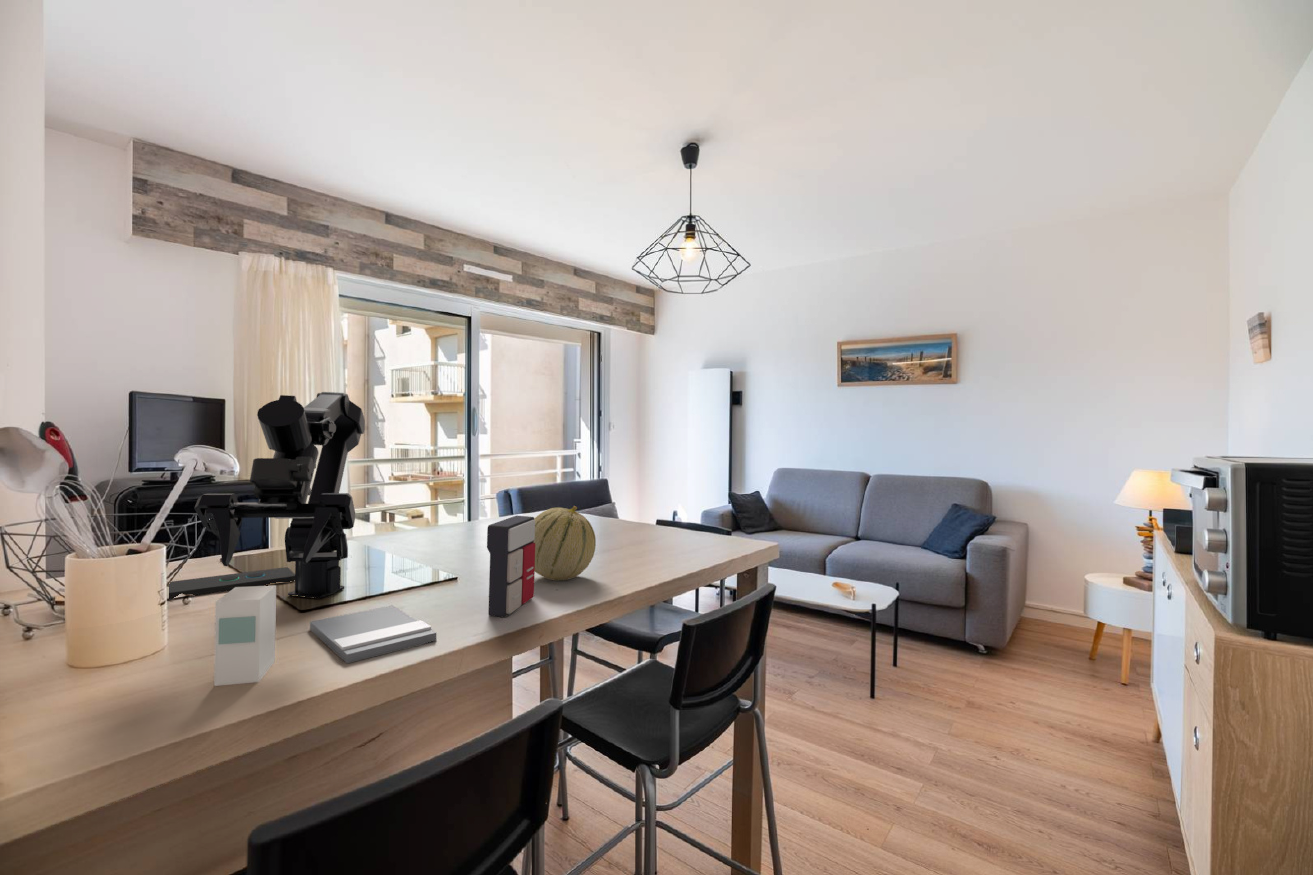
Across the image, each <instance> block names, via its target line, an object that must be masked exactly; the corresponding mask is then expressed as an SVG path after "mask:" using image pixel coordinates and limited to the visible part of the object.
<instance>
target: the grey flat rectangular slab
mask: <svg viewBox="0 0 1313 875" xmlns="http://www.w3.org/2000/svg"><path fill="white" fill-rule="evenodd" d="M309 630H310V631H311V632H312V633H313V634H314V635H315V636H316V637H317V638H318V639H320V640H321V641H322V642H323V643H324V644H325V645H326V646H327V647H328V648H329V649H330V650H332V652H334V654H336V655H337V656H338V657H339V658H340V659H341V660H342V661H343V662H344V663H346V664H350V663H351V664H352V663H354V662H358V661H362V659H363V660H366V659H369V658H374V657H378V656H382V655H385V654H389V653H394V652H397V650H398V651H401V650H404V649H410V648H413V646H414V647H417V646H421V645H425V644H428V642H429V643H432V642H431V641H433V642H436V641H437V632H436V631H435V630H432V626H431V625H430V624H428V623H426V622H425V621H423V620H421V619H420V620H417V619H416V618H414V617H413V616H410V615H409V614H407V613H406V612H404V611H403V610H401V609H400V608H398V607H396V606H394V605H392V604H391V605H387V606H386V605H385V606H382V607H377V608H376V607H375V608H371V609H367V610H362V611H356V612H351V613H347V614H342V615H336V616H332V617H331V616H330V617H326V618H321V619H314V620H312V621H311V620H310V621H309ZM424 643H425V644H424ZM409 647H410V648H409ZM393 651H394V652H393Z"/></svg>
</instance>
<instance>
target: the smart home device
mask: <svg viewBox="0 0 1313 875" xmlns="http://www.w3.org/2000/svg"><path fill="white" fill-rule="evenodd" d="M294 580H295V572H293V571H292V570H291V569H290V568H289V567H288V566H287V567H284V566H283V567H277V568H268V569H260V570H251V571H245V572H236V573H229V574H228V573H227V574H222V575H221V574H220V575H213V576H207V577H206V576H205V577H198V578H197V577H196V578H189V579H188V578H187V579H182V580H181V579H180V580H173V581H172V580H171V581H169V582H170V584H169V599H168V600H173V598H174V597H176V596H178V595H179V594H181V593H183V594H193V595H195V596H202V595H209V594H218V593H224V592H229V591H231V590H232V589H234V588H235V587H251V586H264V585H266V584H270V583H276V582H290V581H294ZM290 583H291V582H290ZM195 596H194V597H195Z"/></svg>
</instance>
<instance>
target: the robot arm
mask: <svg viewBox="0 0 1313 875" xmlns="http://www.w3.org/2000/svg"><path fill="white" fill-rule="evenodd" d="M256 416H257V419H258V422H259V424H260V428H261V431H262V433H263V436H264V439H265V442H266V444H267V445H266V446H267V447H268V449H269V450H270V451H271V450H272V451H274V454H273V456H272V457H270V458H269V457H268V458H266V457H265V458H263V457H259V458H254V459H252V460H253V461H252V466H251V471H250V477H249V482H250V484H253V485H254V486H255V487H254V489H253V495H254V497H255V498H259V499H258V502H239V500H238V498H237V496H236V494H235V493H203V494H201V495H200V496H199V497H198V499H197V500H196V503H195V506H194V511H195V512H196V515H197V517H198V518H199V520H200V522H201V524H202V526H203V528H204V530H205V531H208V532H210V533H213V535H214V536H217V537H219V548H220V556H221V564H222V565H223V566H224V567H229V564H230V562H231V561H232V559H233V557H234V554H235V550H236V547H237V544H238V542H239V540H240V535H241V531H240V529H239V528H241V526H242V523H243V519H247V518H248V519H252V518H255V519H259V518H260V519H261V518H265V519H266V518H267V519H269V518H270V519H272V518H274V519H275V520H277V519H278V520H279V519H281V520H283V519H288V520H289V519H290V520H291V521H290V524H289V526H287V528H286V530H285V534H284V547H285V557H286V562H287V563H292V562H294V568H295V569H294V571H295V572H294V574H295V582H294V590H292V591H289V592H287V596H288V595H298V596H305V597H304V598H306V597H314V598H313V599H317V598H319V599H323V598H325V597H327V596H326V595H328V596H331V595H332V594H335V593H337V591H338V592H340V591H342V590H345V585H341V576H342V575H341V570H342V569H341V568H342V567H341V565H340V561H342V560H344V559H348V558H349V546H348V539H347V534H346V533H345V530H350V529H353V528H354V527H355V526H354V525H355V521H356V510H355V504H354V500H353V496H352V495H351V494H350V493H348V492H346V493H345V492H344V493H343V492H341V493H340V491H341V490H340V489H341V485H342V480H343V476H344V472H345V467H346V462H347V458H348V454H349V452H351V451H352V450H353V449H354V448H356V447H357V446H359V443H360V440H361V436H362V435H364V434H365V431H366V420H365V416H364V413H363V409H362V408H361V407H360V406H359V405H357V404H356V403H354V402H352V401H351V400H350V397H349V395H348V394H346V393H344V392H335V391H334V392H333V391H322V392H317V394H316V397H315V398H314V399H313V400H311V401H310V402H309V403H307V405H305V406H303V405H302V404H301V403H300V402H299V401H297V397H296V395H285V394H284V395H283V394H282V395H281V394H280V395H279V398H278V399H277V400H272V401H270V402H267V403H266V404H264V405H262V407H260V408H258V410H257V414H256ZM317 446H321V450H320V454H319V450H318V448H317ZM318 457H319V459H318ZM317 461H318V462H317ZM315 469H316V471H315ZM314 472H315V474H314ZM313 477H314V478H313ZM312 481H313V482H312ZM311 485H312V486H311ZM308 496H309V498H308ZM209 518H212V519H211V520H209ZM205 527H206V529H205ZM322 597H323V598H322Z"/></svg>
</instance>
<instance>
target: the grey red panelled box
mask: <svg viewBox="0 0 1313 875" xmlns="http://www.w3.org/2000/svg"><path fill="white" fill-rule="evenodd" d="M534 518H535V517H534V516H529V515H528V516H527V515H514V516H511V517H508V518H506V519H503V520H500V521H497V522H493V523H491V524H488V526H487V528H486V529H487V533H486V534H487V535H486V549H487V551H488V553H489V577H488V578H489V579H488V580H489V582H488V585H489V586H488V609H487V610H488V616H490V617H498V618H507V617H509V615H511V614H512V613H513V612H515V611H516V610H518V609H519V608H520V607H522V606H523V605H525V604H526V603H527V602H529V601H530V600H532V599H533V598H534V597H535V573H536V572H535V543H534V539H535V520H534Z"/></svg>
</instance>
